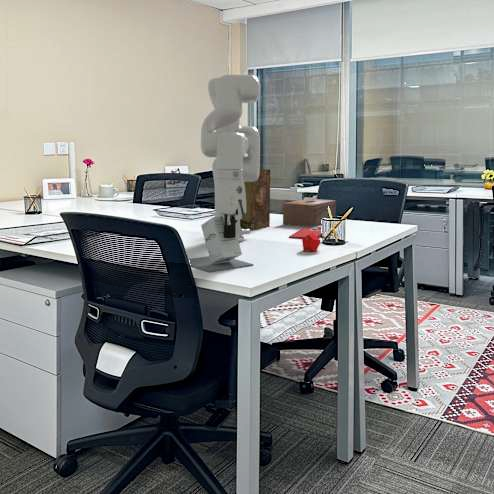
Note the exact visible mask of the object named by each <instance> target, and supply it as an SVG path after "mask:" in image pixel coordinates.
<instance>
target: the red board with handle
mask: <svg viewBox="0 0 494 494" xmlns="http://www.w3.org/2000/svg"><path fill="white" fill-rule="evenodd" d="M321 227H322V226H314V227H303V228H301V229H299V230H298V231H295V232H294V233H293V234H291V235H289V236H288V239H296V240H298V239H299V240H302V238H304V237H305V236H307V235H309V234H311V233H313V234H314V235H315V236H316V237H317V238H318V239H319V240H320V238H323V237H322V233H321Z"/></svg>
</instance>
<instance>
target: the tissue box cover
mask: <svg viewBox="0 0 494 494" xmlns="http://www.w3.org/2000/svg"><path fill="white" fill-rule="evenodd" d="M328 206H329V208H330V210H331V214H332V216H333V217H335V218H336V209H337V208H336V207H337V200H336V199H335V200H334V199H333V200H332V199H322V198H321V199H319V198H318V199H317V198H306V199H305V198H304V199H300V200H299V199H298V200H294V201H288V202H284V203H282V207H283V208H282V209H283V210H282V225H284V226H293V227H294V226H296V227H303V228H314V227H319V226H322V225H321V218H322V217H328V209H327V208H328Z"/></svg>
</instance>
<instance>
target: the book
mask: <svg viewBox="0 0 494 494" xmlns="http://www.w3.org/2000/svg"><path fill="white" fill-rule="evenodd" d="M244 185H245V192H246V213H245V214H242V219H240V228H242V229H243V230H245V229H250V231H255V230H260V229H263V228H268V227H270V223H271V222H270V221H271V220H270V219H271V218H270V217H271V212H270V210H271V169H269V168H268V169H266V168H265V169H263V168H262V169H261V168H260V172H259V178H258V179H257V180H256V181H254V182H244Z"/></svg>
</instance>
